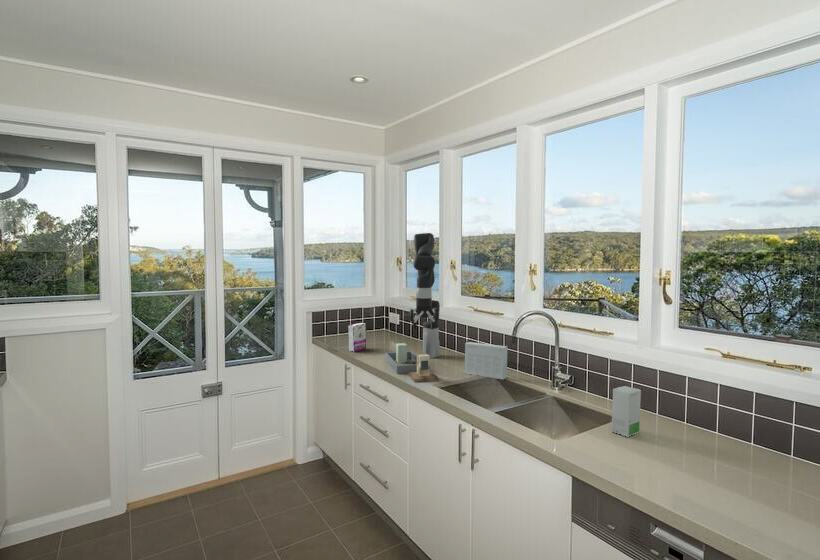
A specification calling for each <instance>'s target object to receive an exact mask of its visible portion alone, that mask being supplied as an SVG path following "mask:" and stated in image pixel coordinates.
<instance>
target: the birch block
mask: <svg viewBox="0 0 820 560" xmlns="http://www.w3.org/2000/svg"><path fill="white" fill-rule="evenodd" d="M416 355H417V374H418V375H419V376H429V371H431V370H430V365H431V364H430V362H431V361H430V359H431V358H430V356H429V355H428V354H427V353H426V354H423V353H416Z"/></svg>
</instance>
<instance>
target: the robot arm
mask: <svg viewBox="0 0 820 560" xmlns="http://www.w3.org/2000/svg"><path fill="white" fill-rule="evenodd" d="M413 245H414V251H415V252H414V253H415V257H414V258H413V262H412V265H413V268H414V269H415V270H416V271H417V277H416V293H415V294H416V295H415V296H416V299H415V309H414V308H410V309H409V314H408V315H409V317H408V319H409V320H408V321H410V322H411V323H412V329H413V331H417V326H418V325H417V322H418V320H420V318H421V319H423V318H426V319H427V318H428V319H429V320H427V321H424V322H423V323H422V324H423V325H422V354H426V353H427V354H428V355H429V356H430V359H431V358H435V359H436V358H438V357H440V351H441V350H440V345H441V343H440V342H441V341H440V339H439V336H440V335H439V334H440V332H439V330H440V326H439V325H440V305H441V304H440V301H439V300H433V299H432V297H433V296H432V295H433V293H432V287H433V285H434V283H435V280H436V279H435V266H436V259H435V257H434V256H432V253H433V250H434V248H435V237H434V234H433V233H431V232H424V233H416V234H414V236H413ZM415 313H416V314H415ZM414 314H415V316H414Z"/></svg>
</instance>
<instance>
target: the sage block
mask: <svg viewBox="0 0 820 560" xmlns="http://www.w3.org/2000/svg"><path fill="white" fill-rule="evenodd" d="M407 347H408V344H406V343H404V342H402V343H396V344H395V352H396V359H395V362H396V361H397V362H398V363H397V362H396V363H397V364H406V363H405V362H407V363H408V359H407V352H408V348H407Z"/></svg>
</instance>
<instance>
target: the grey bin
mask: <svg viewBox="0 0 820 560" xmlns="http://www.w3.org/2000/svg"><path fill="white" fill-rule="evenodd" d="M408 358H411V359H410V360H411V361H412V362H414V363H415V364H398V363H397V362H396V351H391V352H384V360H385V362H386V363H387V364H388V365H389V366H390V368H391V369H392V370H393V371H394V372H395V374H397V373H401V374H408V372H417V353H415V352H414V351H408V350H407V360H409V359H408Z"/></svg>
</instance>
